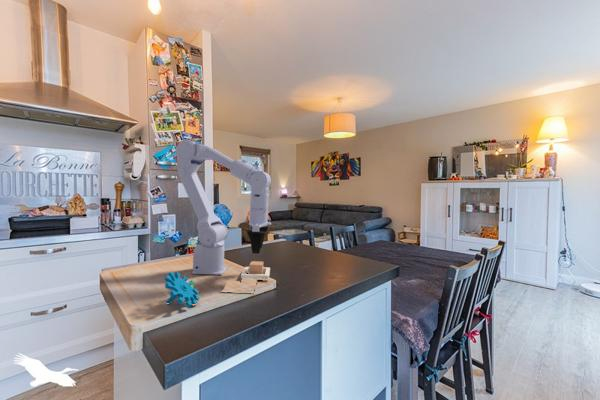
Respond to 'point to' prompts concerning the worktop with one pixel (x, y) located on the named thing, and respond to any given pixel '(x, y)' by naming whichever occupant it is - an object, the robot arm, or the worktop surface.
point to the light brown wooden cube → (256, 267)
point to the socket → (265, 274)
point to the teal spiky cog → (181, 289)
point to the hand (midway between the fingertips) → (257, 250)
